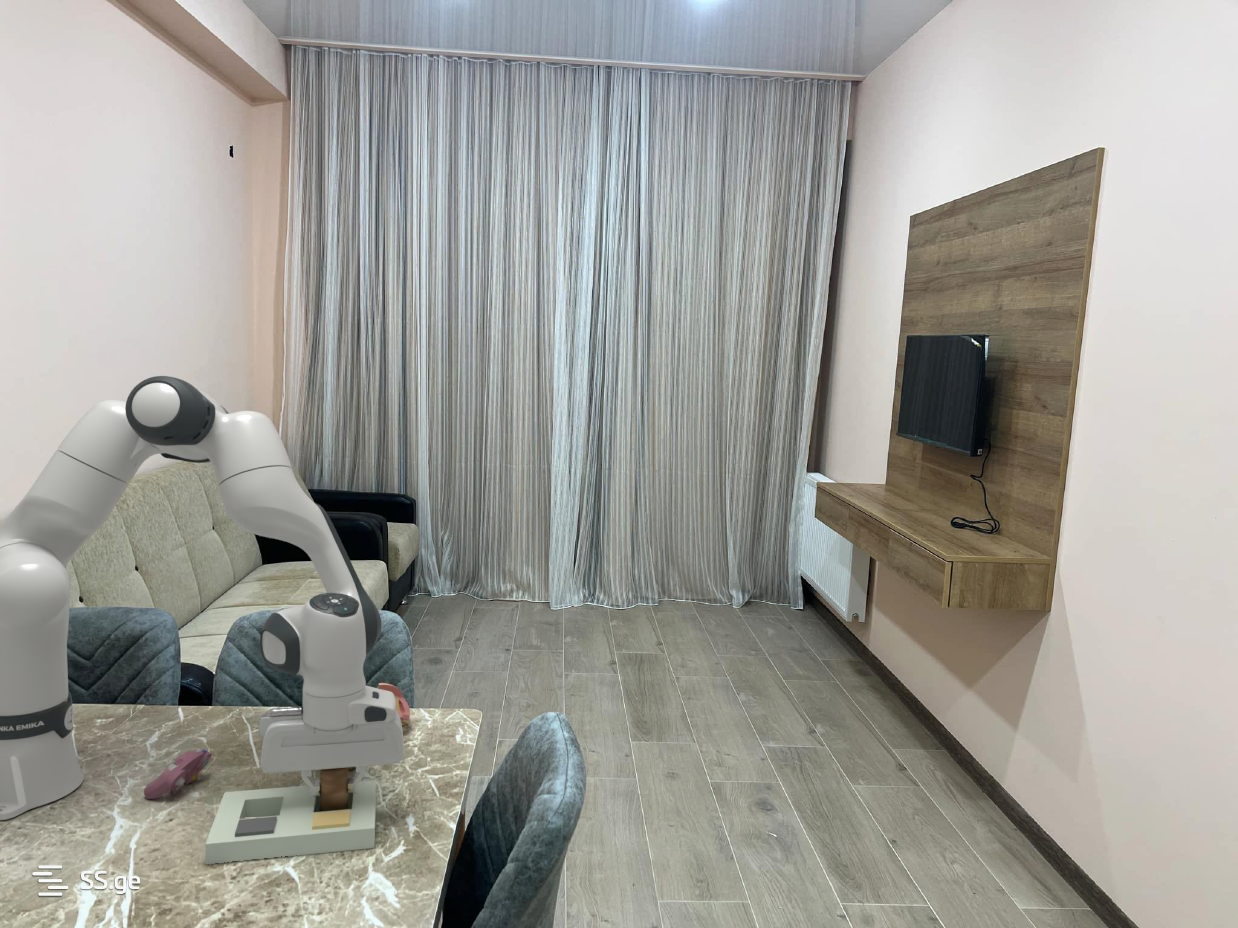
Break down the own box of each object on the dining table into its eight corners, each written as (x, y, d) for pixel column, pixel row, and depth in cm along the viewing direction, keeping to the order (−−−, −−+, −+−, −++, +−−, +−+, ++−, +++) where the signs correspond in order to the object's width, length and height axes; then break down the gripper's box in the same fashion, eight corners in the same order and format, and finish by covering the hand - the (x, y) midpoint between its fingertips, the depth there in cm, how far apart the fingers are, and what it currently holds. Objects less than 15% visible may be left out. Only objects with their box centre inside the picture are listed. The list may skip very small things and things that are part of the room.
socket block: (205, 864, 117) (205, 840, 116) (224, 810, 130) (224, 788, 130) (374, 847, 123) (374, 824, 122) (376, 797, 136) (376, 776, 136)
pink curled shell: (346, 740, 156) (351, 690, 162) (391, 751, 163) (394, 702, 169) (379, 724, 152) (382, 673, 158) (423, 736, 159) (425, 687, 164)
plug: (318, 817, 127) (319, 773, 126) (321, 803, 131) (321, 760, 130) (347, 815, 128) (347, 771, 127) (348, 801, 132) (349, 758, 131)
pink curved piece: (162, 812, 132) (180, 777, 131) (138, 796, 132) (155, 760, 131) (204, 782, 142) (221, 748, 140) (182, 766, 142) (198, 733, 141)
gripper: (255, 718, 121) (256, 810, 123) (405, 709, 127) (403, 797, 128) (261, 700, 127) (262, 788, 129) (404, 692, 133) (403, 777, 134)
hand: (334, 793), depth 129 cm, fingers closed on plug, 4 cm apart
